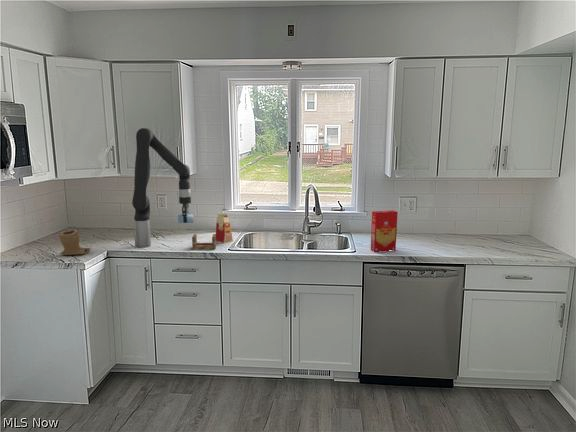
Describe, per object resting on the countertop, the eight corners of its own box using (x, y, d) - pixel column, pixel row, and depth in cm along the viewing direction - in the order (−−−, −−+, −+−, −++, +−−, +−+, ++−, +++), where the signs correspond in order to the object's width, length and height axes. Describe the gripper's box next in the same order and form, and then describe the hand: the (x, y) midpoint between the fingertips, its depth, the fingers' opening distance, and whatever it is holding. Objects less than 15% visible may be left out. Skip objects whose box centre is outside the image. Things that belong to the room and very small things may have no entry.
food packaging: (374, 252, 273) (376, 212, 269) (370, 250, 278) (372, 211, 274) (395, 250, 277) (397, 211, 273) (391, 248, 282) (393, 210, 278)
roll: (178, 224, 285) (177, 217, 282) (179, 220, 289) (178, 213, 287) (193, 224, 285) (192, 217, 283) (194, 220, 290) (193, 212, 287)
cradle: (192, 249, 277) (192, 237, 276) (194, 246, 286) (193, 234, 284) (214, 249, 278) (214, 237, 277) (216, 245, 287) (215, 233, 286)
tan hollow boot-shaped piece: (57, 257, 258) (54, 232, 256) (66, 252, 270) (64, 228, 267) (83, 257, 259) (81, 232, 256) (91, 252, 271) (89, 228, 268)
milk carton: (233, 241, 300) (232, 212, 297) (224, 243, 292) (223, 214, 289) (222, 239, 305) (221, 211, 301) (213, 242, 297) (213, 213, 293)
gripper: (180, 194, 290) (181, 219, 293) (177, 197, 276) (178, 223, 279) (192, 194, 291) (193, 219, 294) (189, 197, 276) (190, 223, 280)
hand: (186, 221), depth 286 cm, fingers closed on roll, 5 cm apart
